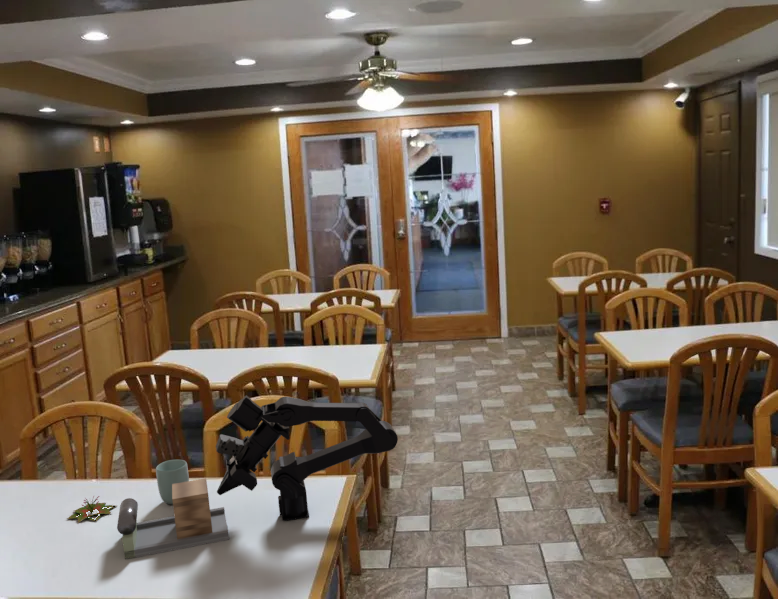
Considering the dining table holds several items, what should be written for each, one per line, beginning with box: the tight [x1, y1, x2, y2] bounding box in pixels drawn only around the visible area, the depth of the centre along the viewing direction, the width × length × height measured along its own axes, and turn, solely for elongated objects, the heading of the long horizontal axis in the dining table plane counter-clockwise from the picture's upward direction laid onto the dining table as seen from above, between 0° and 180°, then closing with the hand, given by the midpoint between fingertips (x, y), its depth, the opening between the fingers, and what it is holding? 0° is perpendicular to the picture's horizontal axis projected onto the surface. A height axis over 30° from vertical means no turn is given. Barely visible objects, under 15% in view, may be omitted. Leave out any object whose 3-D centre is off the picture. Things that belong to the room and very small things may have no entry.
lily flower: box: [66, 495, 117, 524], centre depth 191 cm, size 12×12×5 cm
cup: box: [155, 459, 190, 505], centre depth 194 cm, size 8×8×10 cm
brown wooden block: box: [172, 477, 213, 539], centre depth 176 cm, size 8×9×10 cm
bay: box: [116, 497, 230, 560], centre depth 175 cm, size 24×14×9 cm, turn 106°
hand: (218, 493), depth 177 cm, fingers closed
